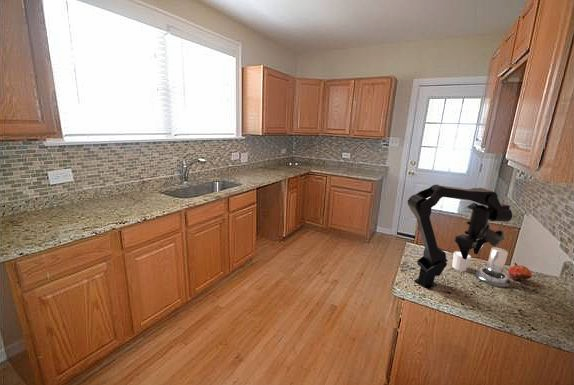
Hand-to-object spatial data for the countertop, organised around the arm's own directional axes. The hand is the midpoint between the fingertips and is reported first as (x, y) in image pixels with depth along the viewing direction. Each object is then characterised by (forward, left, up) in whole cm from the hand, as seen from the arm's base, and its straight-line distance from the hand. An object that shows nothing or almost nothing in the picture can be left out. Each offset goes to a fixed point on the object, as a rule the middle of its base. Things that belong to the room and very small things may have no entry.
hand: (470, 256), depth 106 cm
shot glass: (+13, +8, -13) cm, 20 cm away
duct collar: (+16, -4, -13) cm, 21 cm away
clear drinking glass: (+16, -4, -12) cm, 20 cm away
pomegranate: (+26, -10, -13) cm, 31 cm away
